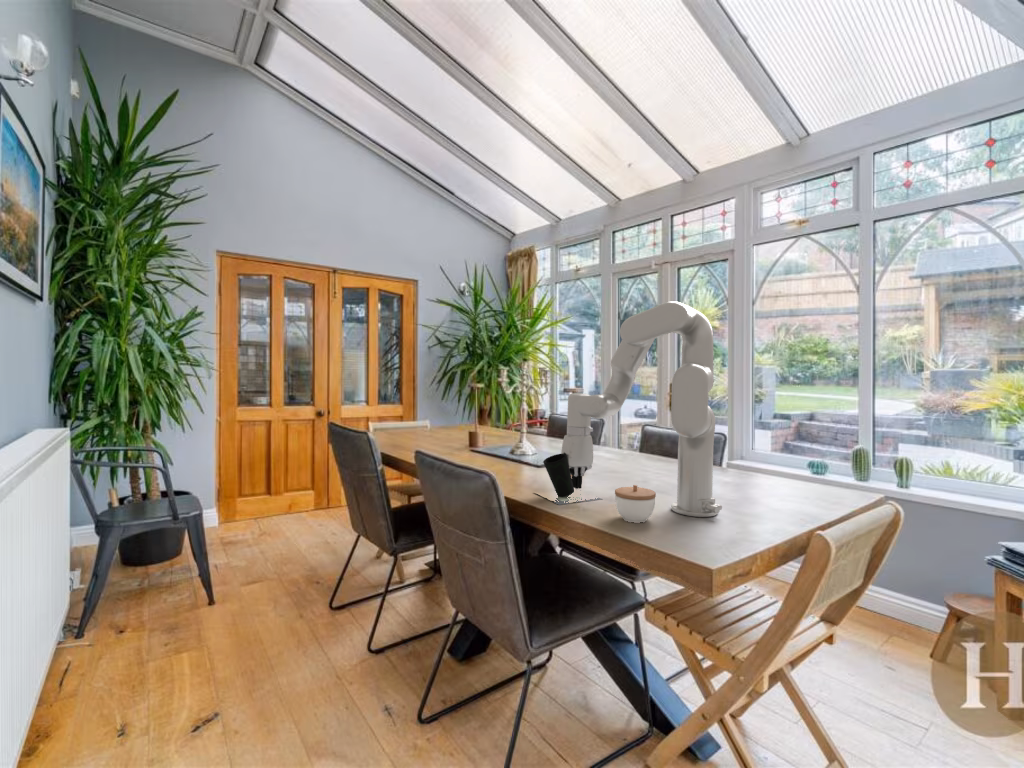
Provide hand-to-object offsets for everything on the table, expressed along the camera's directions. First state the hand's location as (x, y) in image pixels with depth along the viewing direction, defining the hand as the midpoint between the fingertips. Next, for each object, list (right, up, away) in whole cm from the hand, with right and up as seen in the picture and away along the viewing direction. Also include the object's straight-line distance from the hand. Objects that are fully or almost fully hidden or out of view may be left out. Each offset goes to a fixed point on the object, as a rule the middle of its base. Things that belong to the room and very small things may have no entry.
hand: (576, 487), depth 163 cm
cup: (-4, -1, -3) cm, 5 cm away
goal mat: (-4, -2, -3) cm, 5 cm away
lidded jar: (+12, -3, -27) cm, 30 cm away
